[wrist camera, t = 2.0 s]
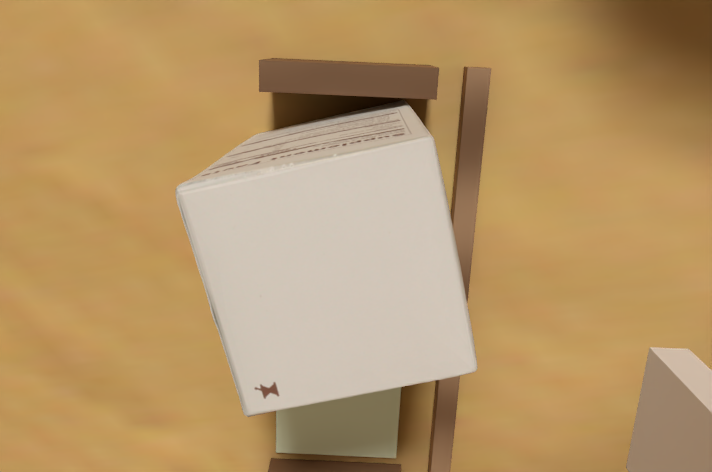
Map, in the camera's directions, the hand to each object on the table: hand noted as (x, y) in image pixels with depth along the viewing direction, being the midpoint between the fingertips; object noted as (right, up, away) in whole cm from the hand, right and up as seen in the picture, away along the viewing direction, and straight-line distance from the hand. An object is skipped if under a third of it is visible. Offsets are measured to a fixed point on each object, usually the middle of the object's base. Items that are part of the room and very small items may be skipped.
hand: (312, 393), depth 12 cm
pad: (0, -5, +20) cm, 21 cm away
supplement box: (0, +5, +17) cm, 18 cm away
